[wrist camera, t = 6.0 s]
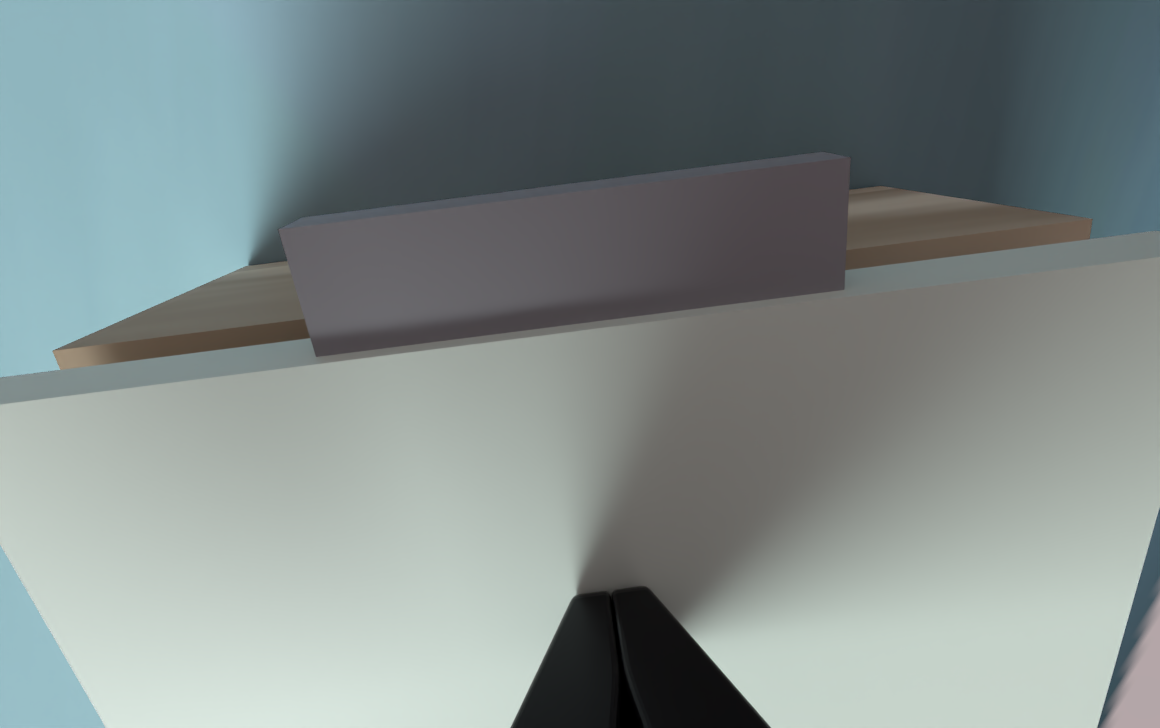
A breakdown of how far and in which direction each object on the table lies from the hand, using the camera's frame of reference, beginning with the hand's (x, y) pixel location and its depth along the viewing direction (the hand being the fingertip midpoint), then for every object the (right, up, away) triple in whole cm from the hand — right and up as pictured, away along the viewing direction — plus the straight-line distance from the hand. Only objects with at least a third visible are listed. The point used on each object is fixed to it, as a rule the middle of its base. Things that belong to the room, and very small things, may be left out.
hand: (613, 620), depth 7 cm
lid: (0, -3, +2) cm, 4 cm away
